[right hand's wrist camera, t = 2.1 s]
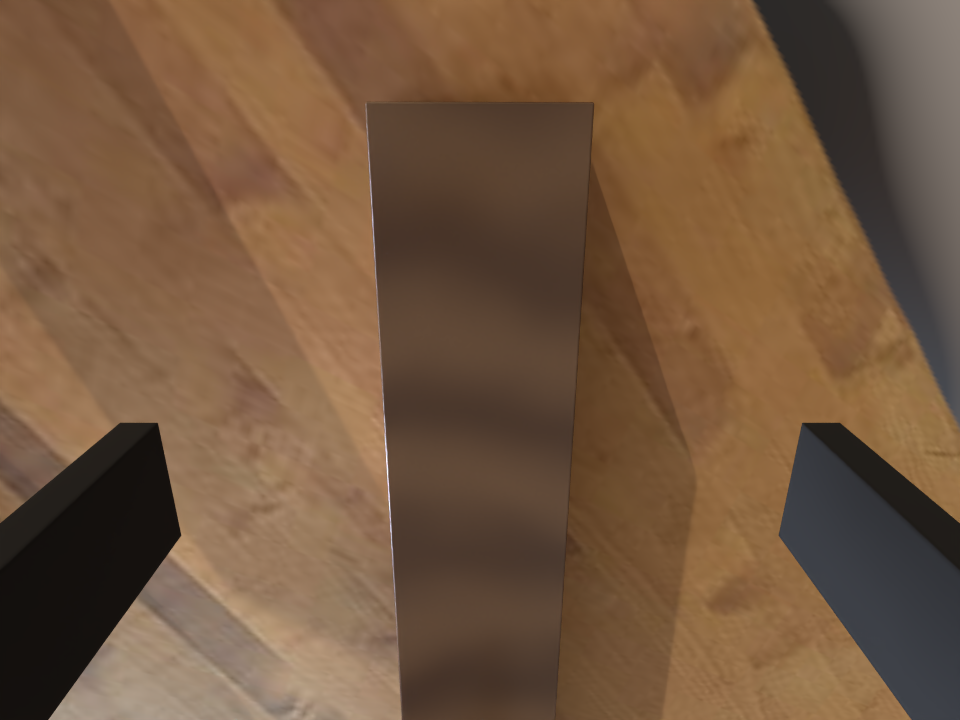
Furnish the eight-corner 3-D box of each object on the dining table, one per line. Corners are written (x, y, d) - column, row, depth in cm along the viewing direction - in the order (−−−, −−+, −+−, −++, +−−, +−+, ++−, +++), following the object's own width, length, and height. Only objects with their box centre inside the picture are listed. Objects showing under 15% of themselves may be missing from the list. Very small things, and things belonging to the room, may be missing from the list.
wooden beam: (385, 105, 34) (364, 101, 28) (574, 105, 34) (594, 102, 28) (423, 893, 59) (417, 981, 53) (532, 893, 59) (538, 981, 53)
